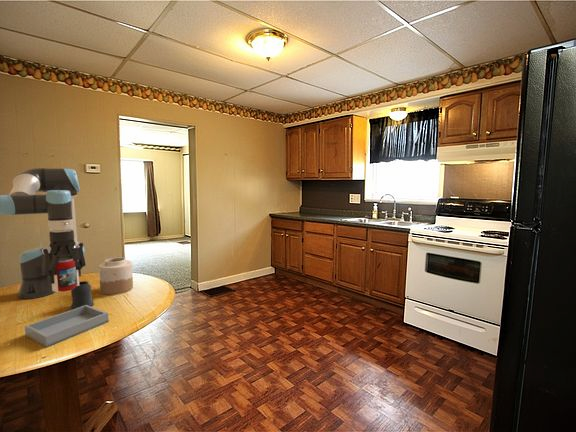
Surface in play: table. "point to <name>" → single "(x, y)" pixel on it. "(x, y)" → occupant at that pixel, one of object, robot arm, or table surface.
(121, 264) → the vase
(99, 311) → the bin
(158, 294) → the table surface
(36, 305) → the table surface
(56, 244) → the robot arm
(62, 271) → the beverage can
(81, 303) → the mug
